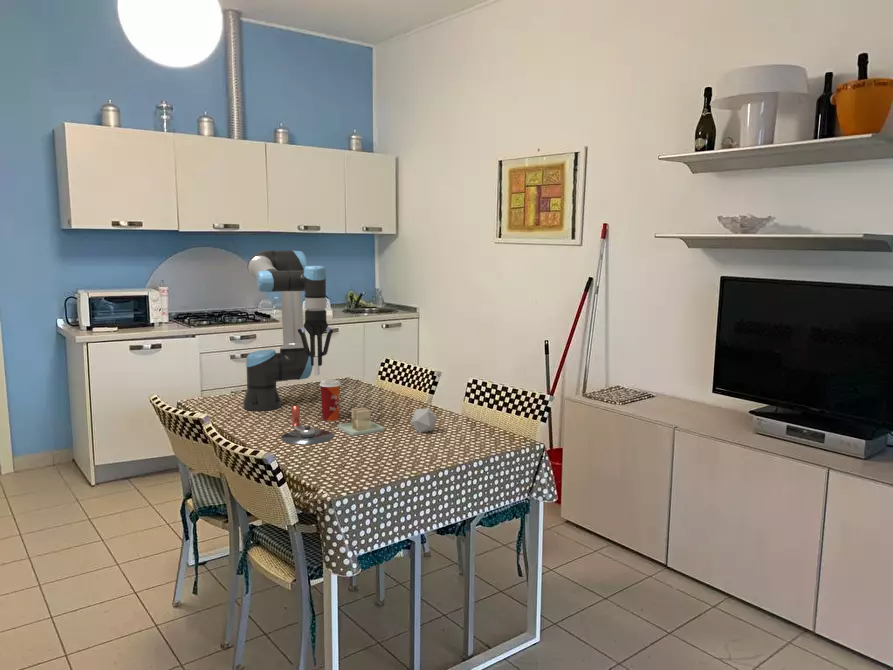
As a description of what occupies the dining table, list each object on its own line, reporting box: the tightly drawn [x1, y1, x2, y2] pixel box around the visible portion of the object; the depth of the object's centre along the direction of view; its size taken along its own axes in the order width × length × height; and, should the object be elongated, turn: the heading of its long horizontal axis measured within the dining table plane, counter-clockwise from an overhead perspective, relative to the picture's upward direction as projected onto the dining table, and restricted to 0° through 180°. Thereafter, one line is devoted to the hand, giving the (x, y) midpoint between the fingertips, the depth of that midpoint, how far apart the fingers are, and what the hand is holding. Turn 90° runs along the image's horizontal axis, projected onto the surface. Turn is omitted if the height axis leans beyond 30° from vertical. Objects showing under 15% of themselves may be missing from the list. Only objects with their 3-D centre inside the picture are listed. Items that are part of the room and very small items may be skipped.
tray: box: [337, 420, 385, 437], centre depth 245 cm, size 13×13×2 cm
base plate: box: [280, 425, 335, 446], centre depth 235 cm, size 18×18×4 cm
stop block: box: [351, 407, 371, 431], centre depth 245 cm, size 5×5×7 cm
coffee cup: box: [319, 378, 342, 422], centre depth 259 cm, size 8×8×15 cm
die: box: [410, 407, 438, 434], centre depth 244 cm, size 8×9×10 cm
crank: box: [291, 404, 316, 437], centre depth 238 cm, size 14×5×9 cm, turn 36°
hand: (316, 374), depth 243 cm, fingers closed
